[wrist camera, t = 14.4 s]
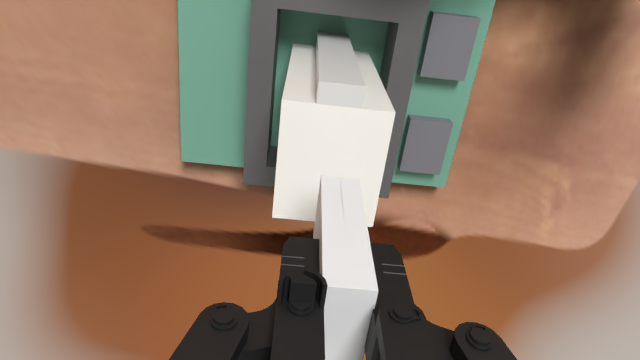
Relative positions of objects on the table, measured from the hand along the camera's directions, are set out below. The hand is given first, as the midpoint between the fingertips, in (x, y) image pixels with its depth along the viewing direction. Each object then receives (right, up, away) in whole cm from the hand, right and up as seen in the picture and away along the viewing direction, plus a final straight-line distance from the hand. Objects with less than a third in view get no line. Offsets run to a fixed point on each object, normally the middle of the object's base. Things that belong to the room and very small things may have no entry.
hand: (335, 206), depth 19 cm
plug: (0, +7, +14) cm, 15 cm away
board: (0, +8, +15) cm, 17 cm away
